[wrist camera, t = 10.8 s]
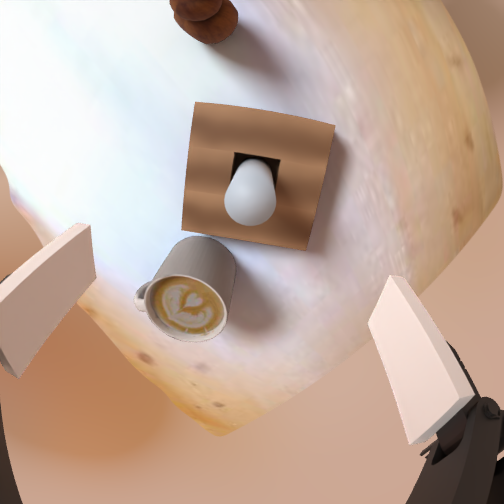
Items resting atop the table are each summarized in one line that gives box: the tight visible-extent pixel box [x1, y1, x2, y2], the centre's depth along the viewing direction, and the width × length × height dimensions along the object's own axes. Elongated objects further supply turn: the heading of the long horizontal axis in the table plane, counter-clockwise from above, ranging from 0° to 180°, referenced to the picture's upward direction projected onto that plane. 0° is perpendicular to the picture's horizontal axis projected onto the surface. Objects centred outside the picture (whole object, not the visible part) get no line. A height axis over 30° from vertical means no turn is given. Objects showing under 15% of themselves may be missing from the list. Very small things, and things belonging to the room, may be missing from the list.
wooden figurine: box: [170, 0, 238, 44], centre depth 18 cm, size 7×6×15 cm
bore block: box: [181, 102, 335, 251], centre depth 31 cm, size 15×15×4 cm
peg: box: [224, 157, 276, 226], centre depth 27 cm, size 4×4×12 cm
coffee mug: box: [134, 236, 236, 342], centre depth 35 cm, size 13×10×10 cm
